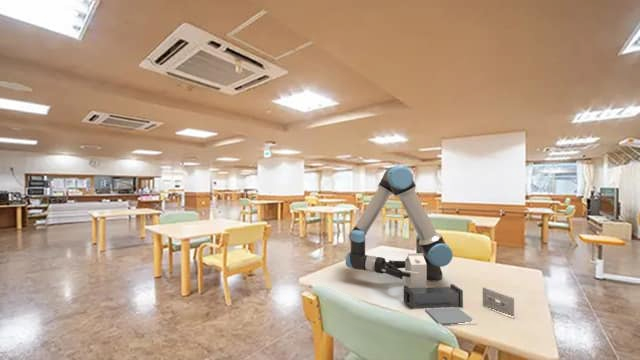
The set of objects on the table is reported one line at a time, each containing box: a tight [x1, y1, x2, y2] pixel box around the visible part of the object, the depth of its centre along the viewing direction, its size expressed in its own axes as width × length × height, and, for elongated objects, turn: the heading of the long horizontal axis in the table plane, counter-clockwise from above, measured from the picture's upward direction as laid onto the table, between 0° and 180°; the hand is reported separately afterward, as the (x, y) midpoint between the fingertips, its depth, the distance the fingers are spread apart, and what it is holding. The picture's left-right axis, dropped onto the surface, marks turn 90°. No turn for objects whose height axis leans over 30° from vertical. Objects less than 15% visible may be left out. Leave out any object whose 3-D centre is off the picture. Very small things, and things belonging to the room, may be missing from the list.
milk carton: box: [404, 252, 428, 288], centre depth 123 cm, size 7×7×19 cm
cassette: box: [482, 286, 515, 317], centre depth 107 cm, size 12×2×8 cm, turn 25°
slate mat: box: [424, 307, 473, 326], centre depth 102 cm, size 14×11×1 cm
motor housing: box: [403, 283, 464, 310], centre depth 113 cm, size 23×7×7 cm, turn 95°
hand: (421, 271), depth 122 cm, fingers open, 13 cm apart
